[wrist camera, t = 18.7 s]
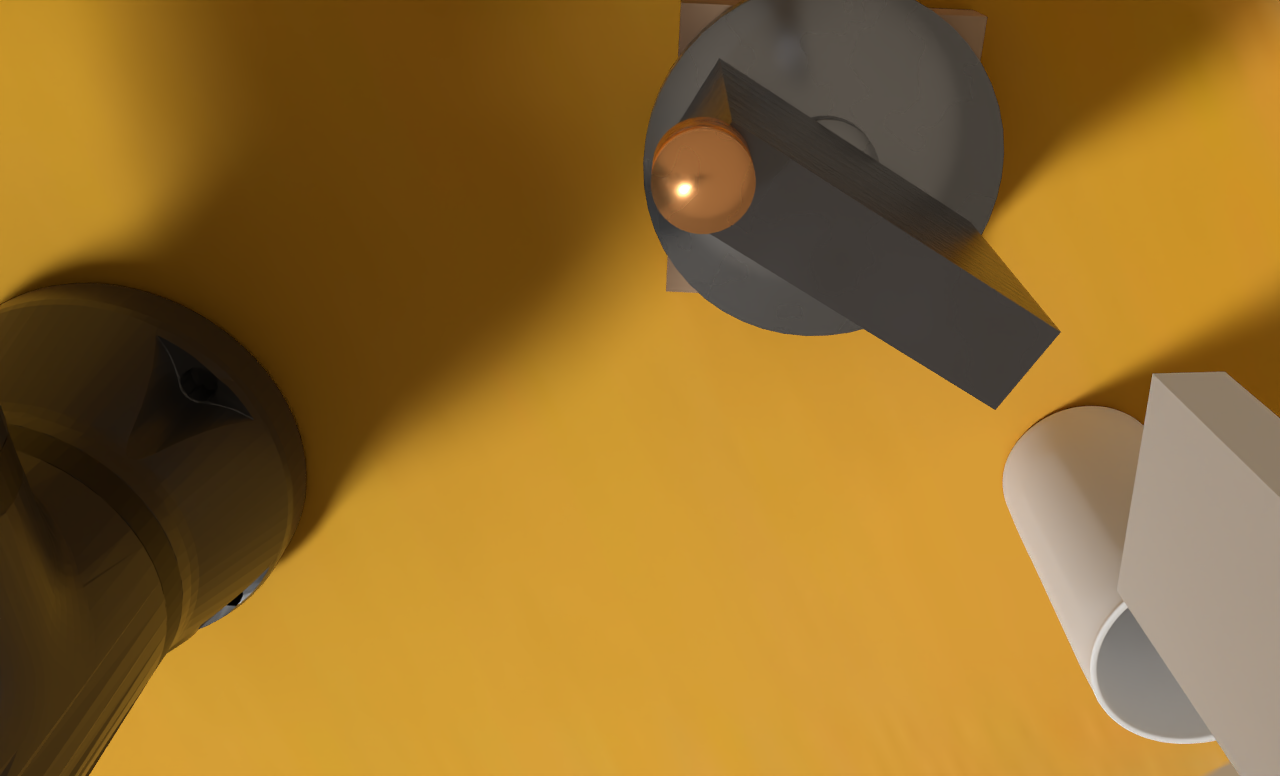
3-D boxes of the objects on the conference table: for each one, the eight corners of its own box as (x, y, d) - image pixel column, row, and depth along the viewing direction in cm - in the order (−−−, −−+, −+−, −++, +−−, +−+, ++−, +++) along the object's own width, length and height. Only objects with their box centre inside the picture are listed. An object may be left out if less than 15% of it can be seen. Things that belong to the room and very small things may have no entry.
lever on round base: (857, 383, 43) (927, 588, 30) (575, 212, 40) (528, 361, 28) (1070, 107, 38) (1251, 217, 26) (768, -103, 36) (812, -88, 24)
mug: (967, 445, 46) (1055, 624, 35) (1126, 368, 44) (1271, 530, 34) (1065, 625, 49) (1174, 839, 39) (1217, 559, 48) (1375, 762, 37)
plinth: (667, 273, 43) (666, 292, 42) (681, -4, 39) (681, 3, 37) (930, 286, 43) (942, 306, 41) (973, 10, 39) (988, 17, 37)
